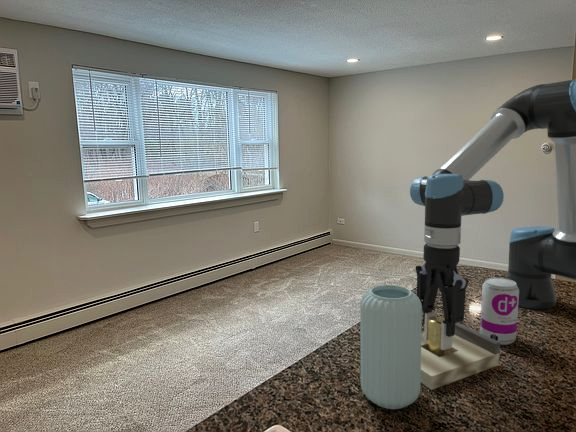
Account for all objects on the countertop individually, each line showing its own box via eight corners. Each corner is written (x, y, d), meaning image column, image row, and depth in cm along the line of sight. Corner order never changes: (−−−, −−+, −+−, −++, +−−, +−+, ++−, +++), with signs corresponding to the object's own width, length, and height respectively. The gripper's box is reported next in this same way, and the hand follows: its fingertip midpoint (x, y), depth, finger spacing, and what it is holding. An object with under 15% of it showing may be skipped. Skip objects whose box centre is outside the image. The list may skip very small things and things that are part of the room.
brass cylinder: (437, 354, 100) (438, 315, 98) (451, 362, 96) (453, 321, 94) (423, 359, 98) (424, 318, 96) (437, 367, 94) (438, 325, 92)
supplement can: (520, 346, 102) (524, 288, 100) (484, 344, 104) (487, 286, 101) (510, 332, 110) (513, 277, 107) (476, 330, 112) (478, 276, 109)
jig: (444, 337, 108) (445, 316, 107) (498, 365, 94) (500, 342, 93) (382, 355, 100) (382, 334, 99) (431, 389, 86) (432, 365, 85)
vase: (357, 381, 90) (356, 282, 86) (411, 380, 89) (413, 280, 85) (365, 416, 78) (365, 303, 75) (427, 415, 78) (430, 301, 74)
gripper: (401, 238, 99) (399, 332, 102) (460, 255, 83) (455, 364, 87) (426, 235, 102) (422, 326, 106) (487, 250, 86) (481, 356, 90)
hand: (437, 343), depth 96 cm, fingers closed on brass cylinder, 4 cm apart
